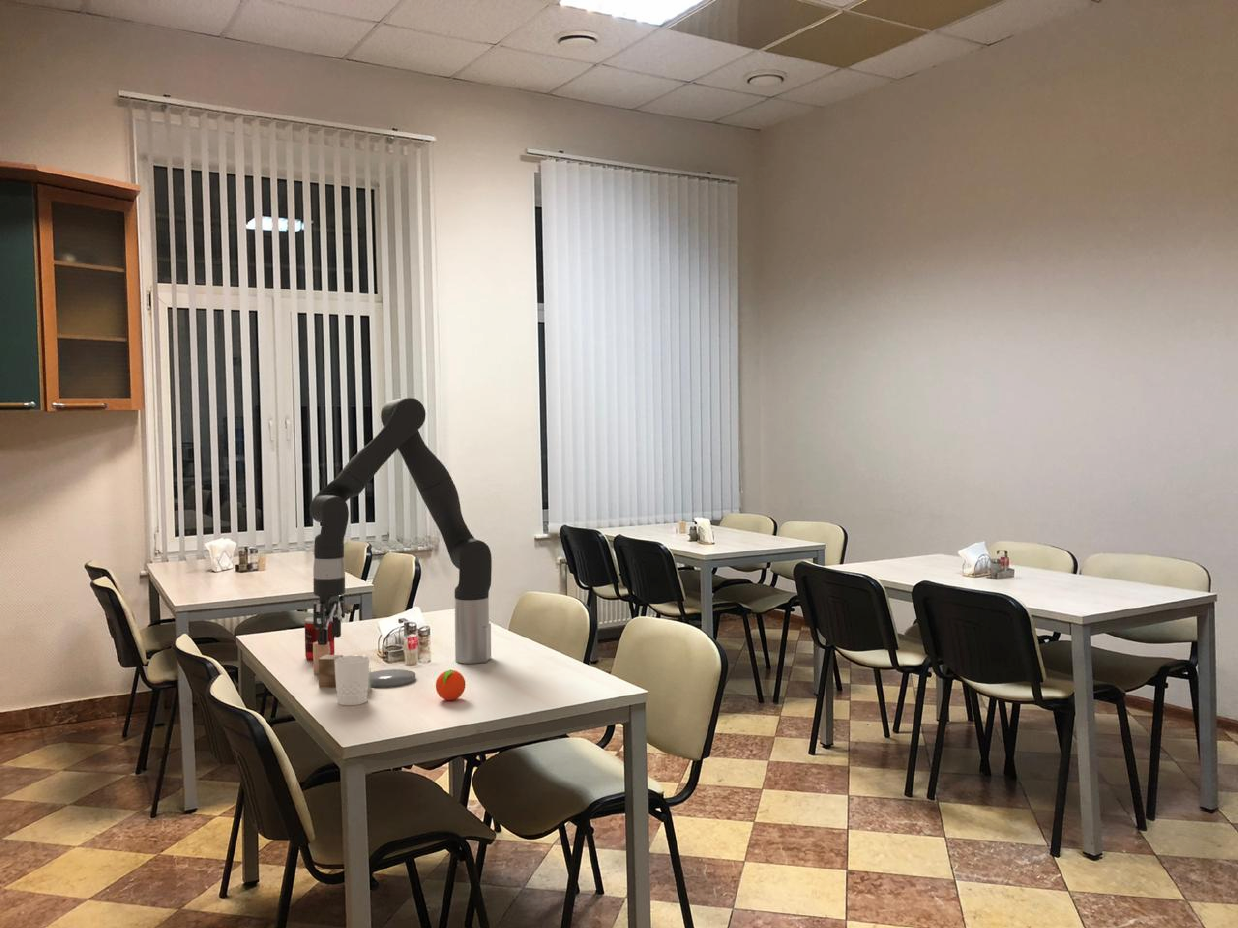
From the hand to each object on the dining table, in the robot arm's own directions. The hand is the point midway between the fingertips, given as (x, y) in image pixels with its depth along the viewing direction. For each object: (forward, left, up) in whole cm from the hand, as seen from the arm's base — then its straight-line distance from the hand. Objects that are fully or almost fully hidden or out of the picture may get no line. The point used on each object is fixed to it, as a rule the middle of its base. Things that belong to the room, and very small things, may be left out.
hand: (329, 640), depth 240 cm
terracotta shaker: (+7, -11, -11) cm, 17 cm away
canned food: (+14, -27, -11) cm, 32 cm away
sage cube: (-9, +5, -11) cm, 15 cm away
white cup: (-11, +14, -11) cm, 21 cm away
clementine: (-33, +11, -11) cm, 37 cm away
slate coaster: (-13, -5, -11) cm, 18 cm away
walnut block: (0, 0, -11) cm, 11 cm away
